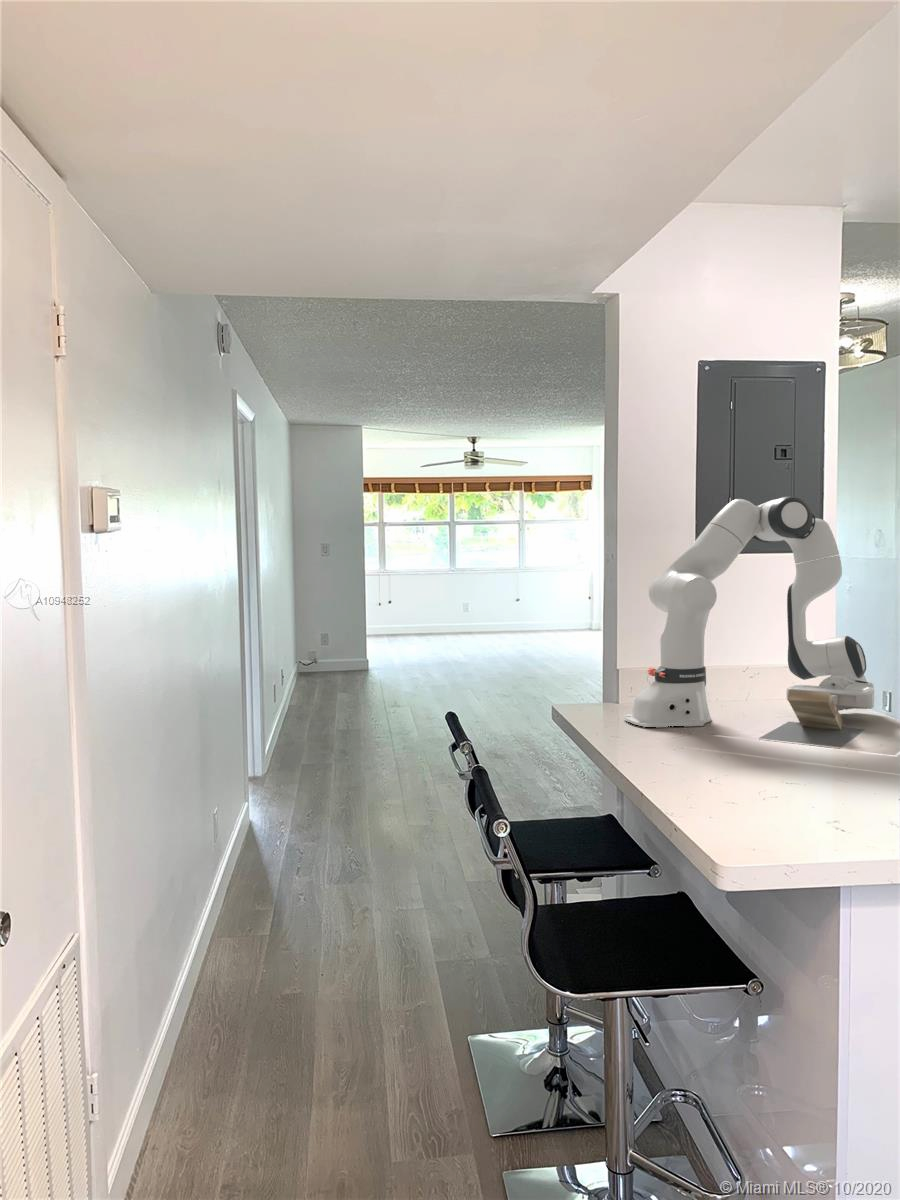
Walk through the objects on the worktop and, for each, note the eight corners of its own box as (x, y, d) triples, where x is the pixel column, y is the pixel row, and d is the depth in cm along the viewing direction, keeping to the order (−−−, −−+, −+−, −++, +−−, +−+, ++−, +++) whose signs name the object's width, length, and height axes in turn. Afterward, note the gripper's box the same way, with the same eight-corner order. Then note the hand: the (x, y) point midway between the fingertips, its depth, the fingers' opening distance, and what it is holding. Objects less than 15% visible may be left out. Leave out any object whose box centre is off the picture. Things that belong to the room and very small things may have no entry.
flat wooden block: (804, 716, 209) (789, 688, 200) (842, 720, 203) (829, 691, 194) (802, 726, 208) (787, 698, 199) (840, 730, 202) (827, 702, 193)
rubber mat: (788, 723, 214) (788, 721, 214) (865, 730, 203) (865, 729, 203) (758, 739, 197) (758, 738, 197) (840, 749, 186) (840, 747, 186)
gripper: (795, 677, 222) (778, 685, 212) (880, 683, 209) (866, 691, 199) (795, 701, 223) (778, 709, 212) (880, 708, 210) (866, 718, 199)
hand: (821, 701), depth 205 cm, fingers closed
